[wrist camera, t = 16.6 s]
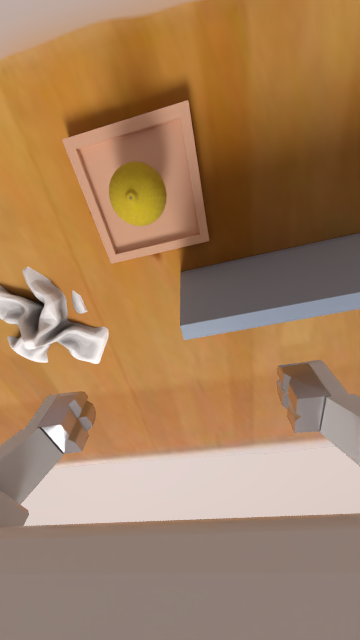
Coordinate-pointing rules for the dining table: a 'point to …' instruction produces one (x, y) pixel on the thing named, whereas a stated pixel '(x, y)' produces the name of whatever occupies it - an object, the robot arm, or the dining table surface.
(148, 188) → the lemon
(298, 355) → the dining table surface
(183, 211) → the dish
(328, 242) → the screen
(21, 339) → the cloth
